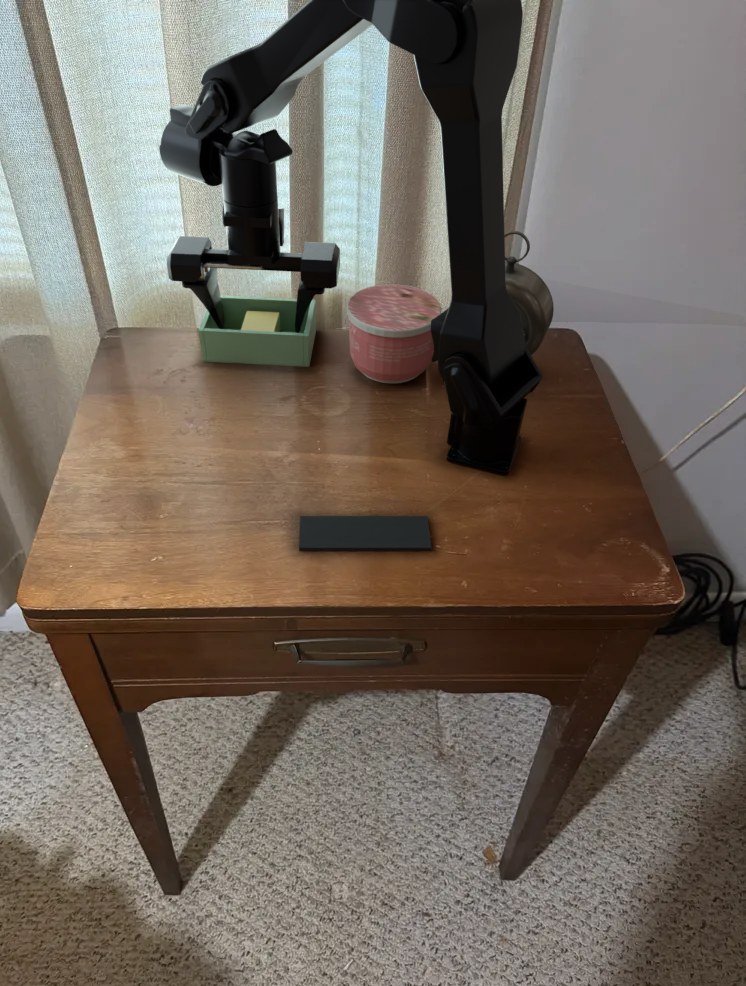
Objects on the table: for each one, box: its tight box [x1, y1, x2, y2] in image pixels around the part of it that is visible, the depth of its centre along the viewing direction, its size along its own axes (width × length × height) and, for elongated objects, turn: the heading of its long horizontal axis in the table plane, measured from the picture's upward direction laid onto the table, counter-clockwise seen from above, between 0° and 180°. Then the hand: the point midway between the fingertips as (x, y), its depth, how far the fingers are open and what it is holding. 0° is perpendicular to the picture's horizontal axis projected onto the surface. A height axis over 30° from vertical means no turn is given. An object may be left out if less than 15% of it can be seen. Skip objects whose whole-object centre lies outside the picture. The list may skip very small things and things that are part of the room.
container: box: [346, 283, 442, 384], centre depth 86 cm, size 10×10×8 cm
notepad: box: [241, 311, 280, 332], centre depth 91 cm, size 4×6×3 cm, turn 176°
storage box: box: [197, 295, 317, 368], centre depth 90 cm, size 13×8×4 cm, turn 86°
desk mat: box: [298, 515, 433, 552], centre depth 70 cm, size 12×4×1 cm, turn 91°
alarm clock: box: [504, 230, 555, 356], centre depth 84 cm, size 11×5×16 cm, turn 66°
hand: (260, 330), depth 90 cm, fingers open, 9 cm apart
